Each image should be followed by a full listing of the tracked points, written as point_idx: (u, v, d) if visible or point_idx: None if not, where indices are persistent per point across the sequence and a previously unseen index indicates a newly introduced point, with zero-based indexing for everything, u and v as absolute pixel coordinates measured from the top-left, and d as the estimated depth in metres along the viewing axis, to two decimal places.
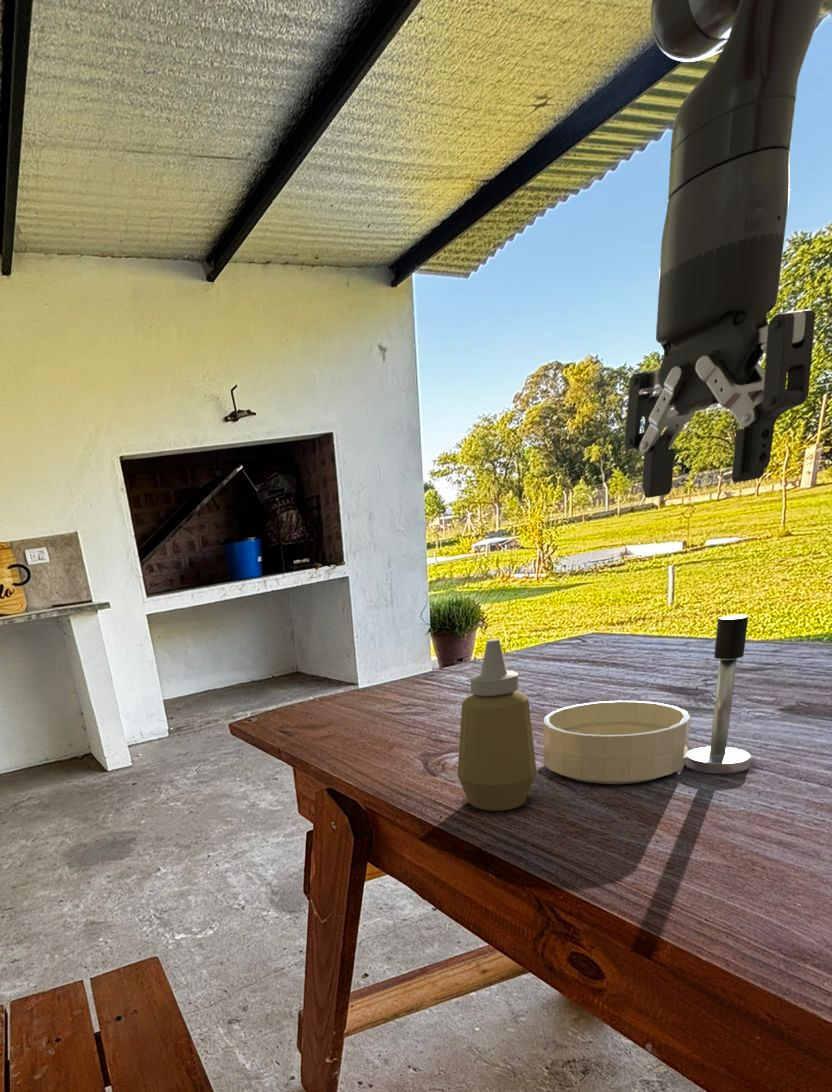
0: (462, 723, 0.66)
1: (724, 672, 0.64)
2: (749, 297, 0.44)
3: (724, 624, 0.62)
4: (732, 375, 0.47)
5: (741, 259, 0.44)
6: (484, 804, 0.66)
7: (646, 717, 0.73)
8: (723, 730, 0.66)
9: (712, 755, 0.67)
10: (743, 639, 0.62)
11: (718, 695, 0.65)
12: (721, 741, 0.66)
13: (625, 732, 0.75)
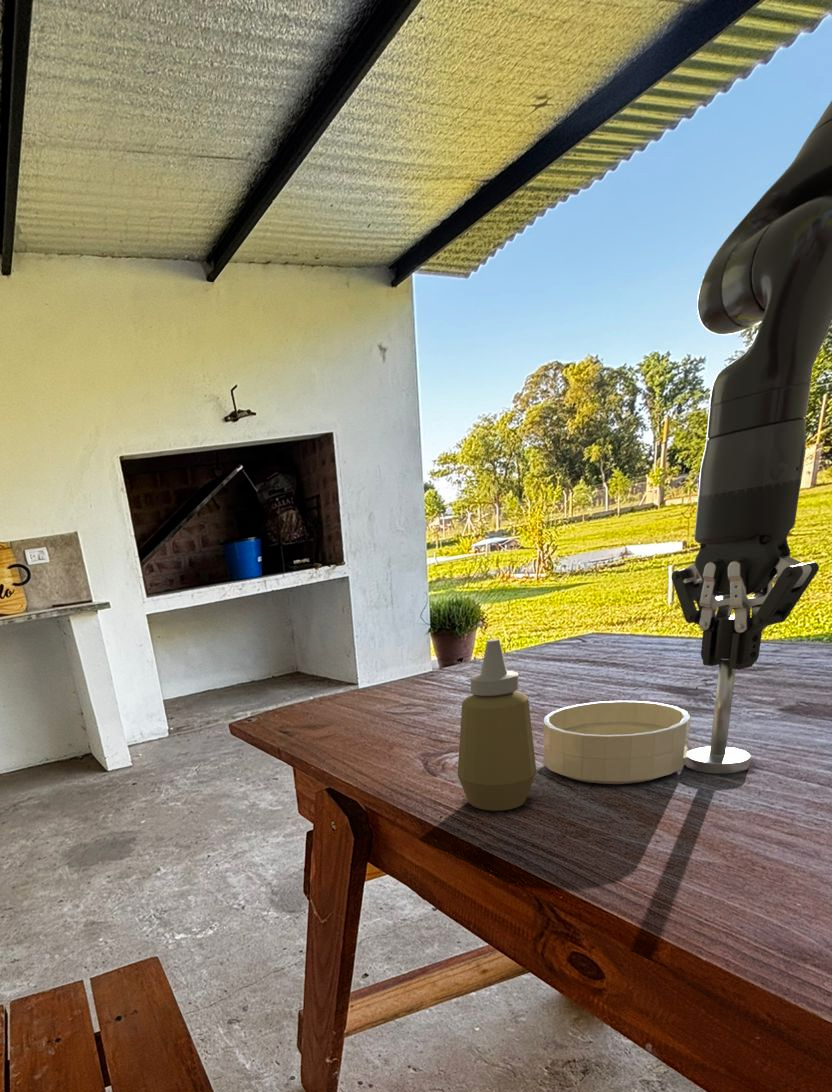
0: (462, 723, 0.66)
1: (724, 672, 0.64)
2: (773, 526, 0.56)
3: (724, 624, 0.62)
4: (758, 579, 0.58)
5: (767, 498, 0.55)
6: (484, 804, 0.66)
7: (646, 717, 0.73)
8: (723, 730, 0.66)
9: (712, 755, 0.67)
10: None
11: (718, 695, 0.65)
12: (721, 741, 0.66)
13: (625, 732, 0.75)
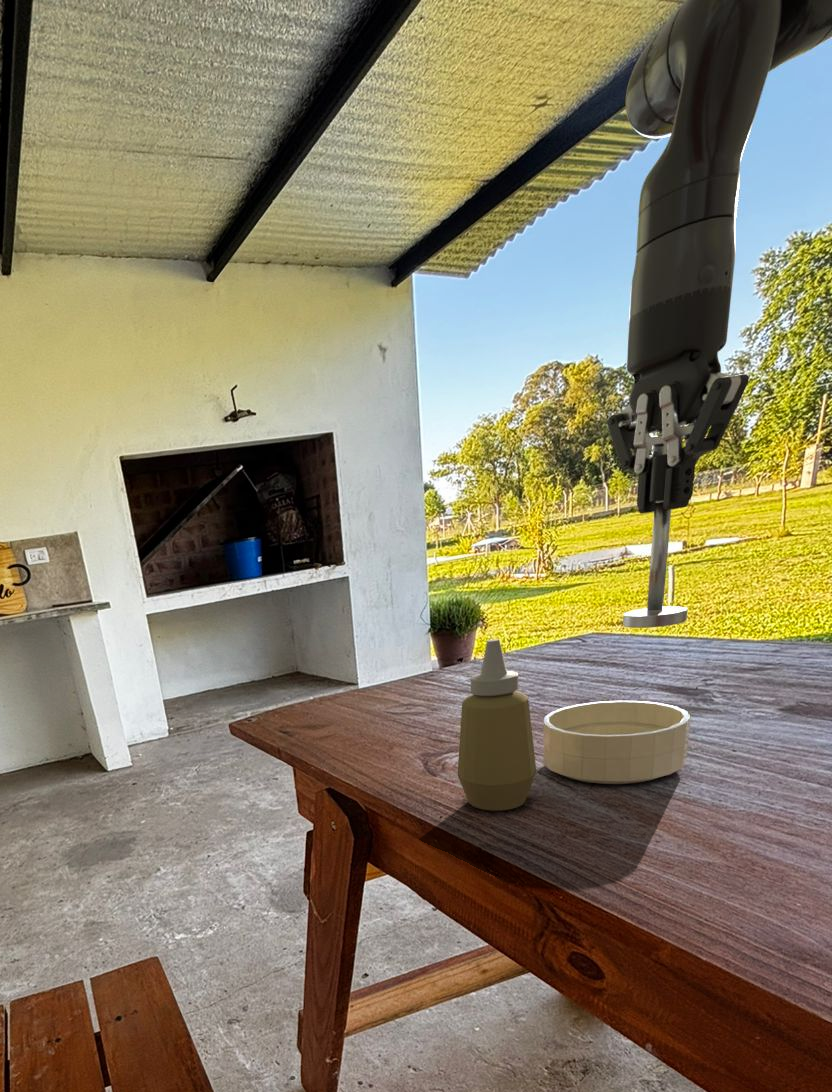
0: (462, 723, 0.66)
1: (659, 516, 0.61)
2: (702, 338, 0.53)
3: (657, 461, 0.59)
4: (689, 402, 0.55)
5: (695, 307, 0.52)
6: (484, 804, 0.66)
7: (646, 717, 0.73)
8: (659, 582, 0.63)
9: (649, 612, 0.64)
10: None
11: (654, 543, 0.62)
12: (658, 594, 0.63)
13: (625, 732, 0.75)
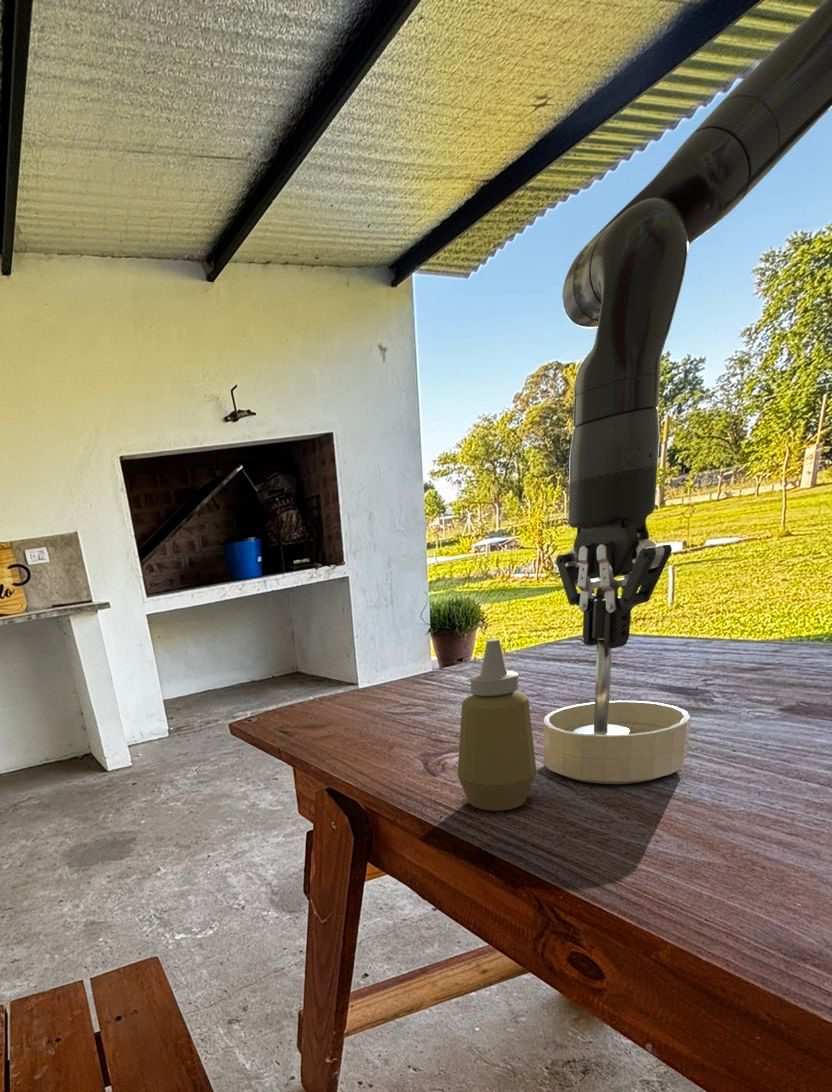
0: (462, 723, 0.66)
1: (601, 651, 0.67)
2: (631, 510, 0.59)
3: (597, 605, 0.65)
4: (622, 561, 0.61)
5: (623, 484, 0.58)
6: (484, 804, 0.66)
7: (646, 717, 0.73)
8: (603, 707, 0.69)
9: (596, 732, 0.70)
10: None
11: (597, 673, 0.68)
12: (602, 718, 0.69)
13: None
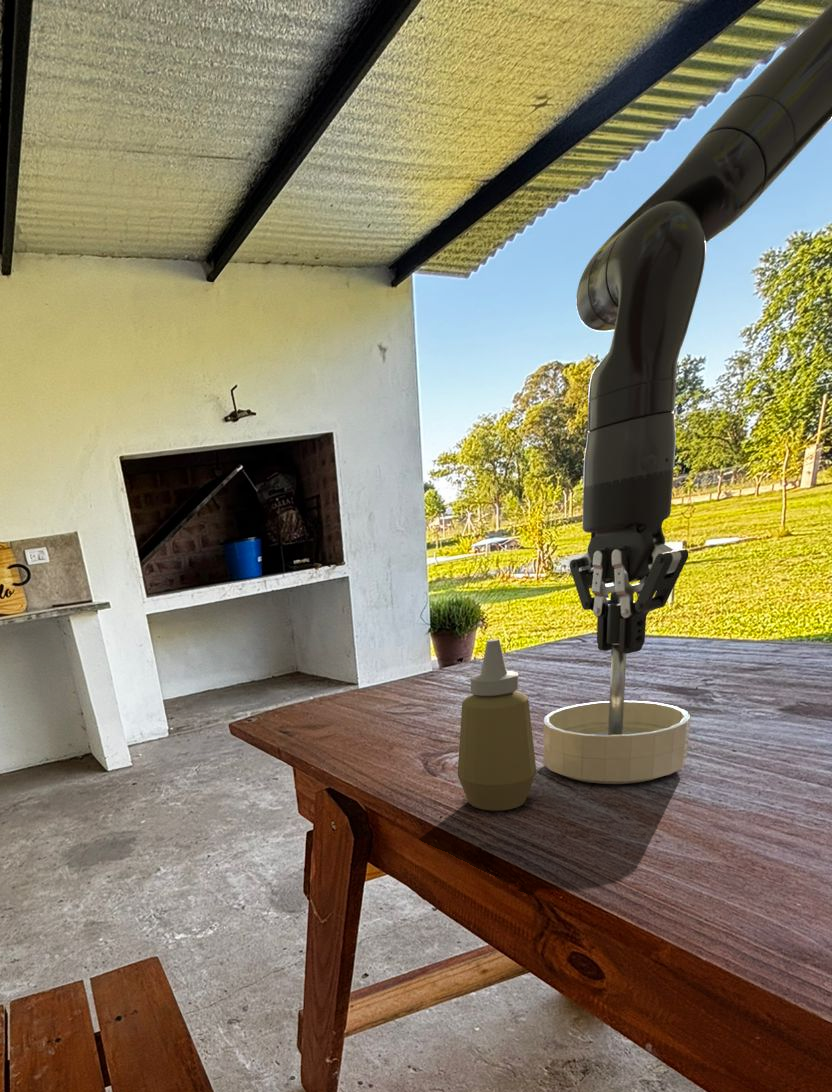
0: (462, 723, 0.66)
1: (615, 656, 0.66)
2: (647, 514, 0.58)
3: (612, 610, 0.65)
4: (638, 566, 0.61)
5: (639, 489, 0.58)
6: (484, 804, 0.66)
7: (646, 717, 0.73)
8: (618, 713, 0.68)
9: None
10: None
11: (612, 679, 0.68)
12: (617, 723, 0.69)
13: None
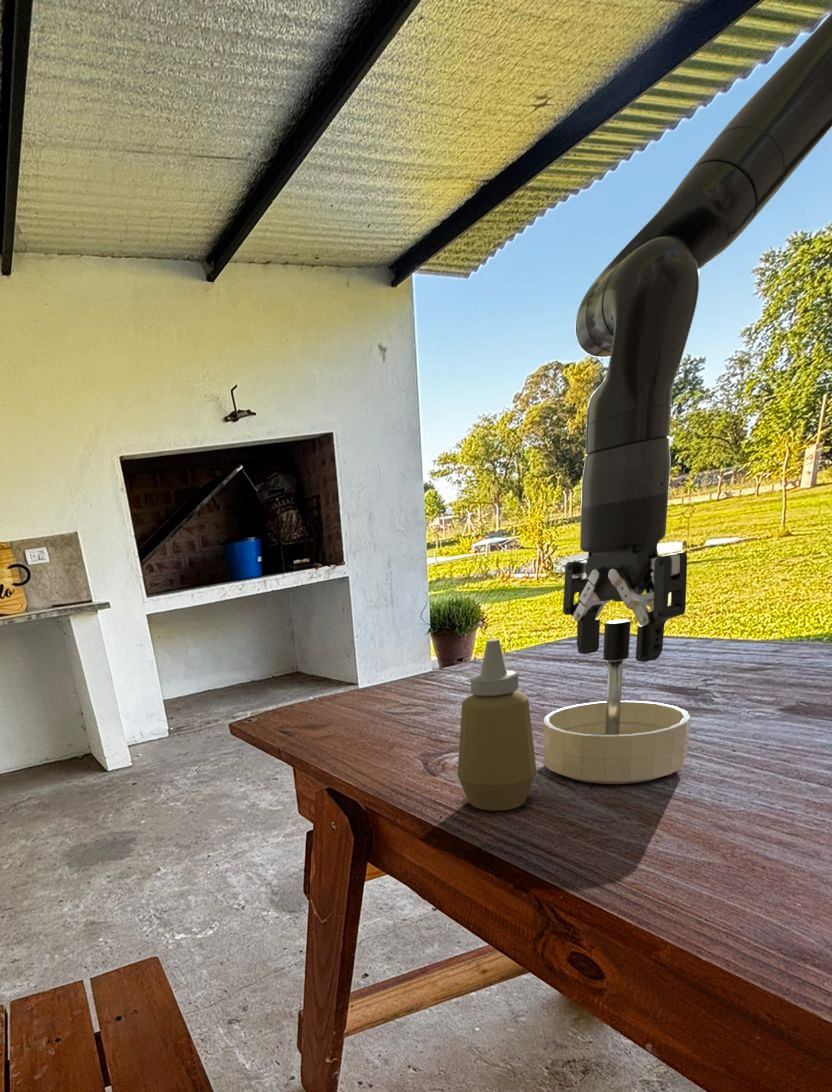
0: (462, 723, 0.66)
1: (612, 673, 0.68)
2: (642, 536, 0.60)
3: (609, 628, 0.66)
4: (633, 586, 0.62)
5: (635, 511, 0.59)
6: (484, 804, 0.66)
7: (646, 717, 0.73)
8: (614, 727, 0.70)
9: None
10: (626, 642, 0.66)
11: (608, 694, 0.69)
12: None
13: (625, 732, 0.75)
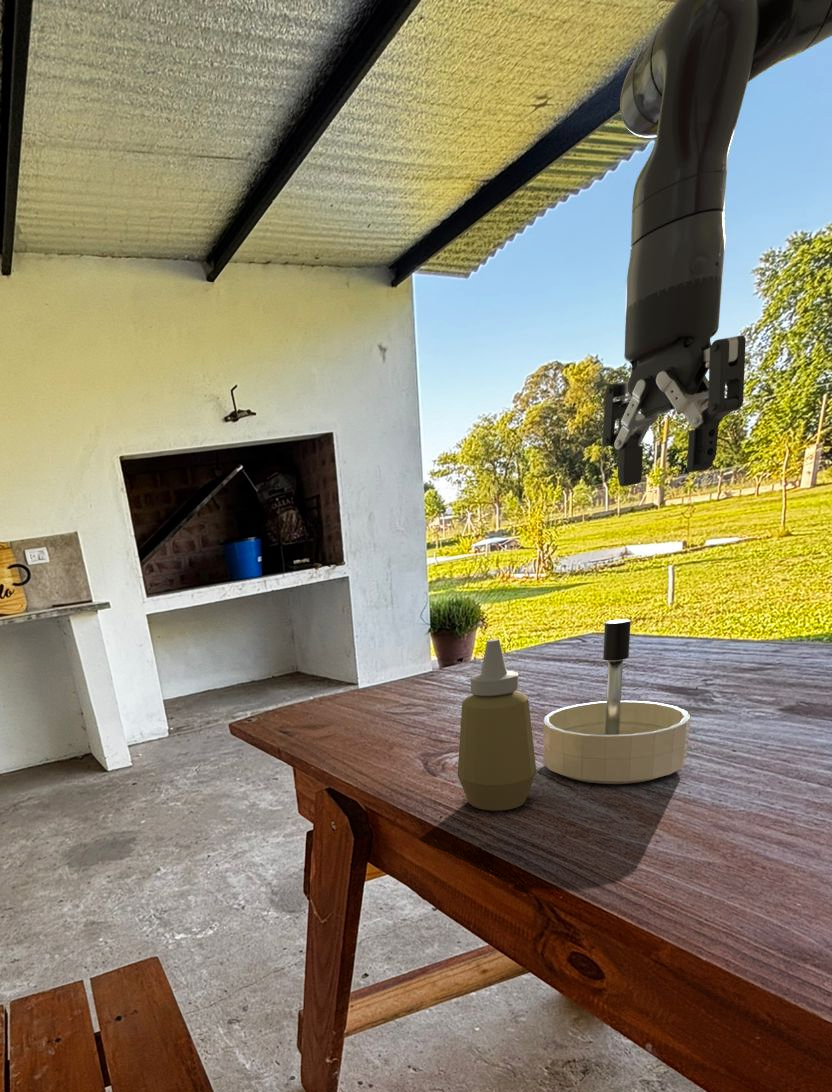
0: (462, 723, 0.66)
1: (612, 673, 0.68)
2: (695, 325, 0.56)
3: (609, 628, 0.66)
4: (684, 386, 0.58)
5: (688, 296, 0.55)
6: (484, 804, 0.66)
7: (646, 717, 0.73)
8: (614, 727, 0.70)
9: None
10: (626, 642, 0.66)
11: (608, 694, 0.69)
12: None
13: (625, 732, 0.75)
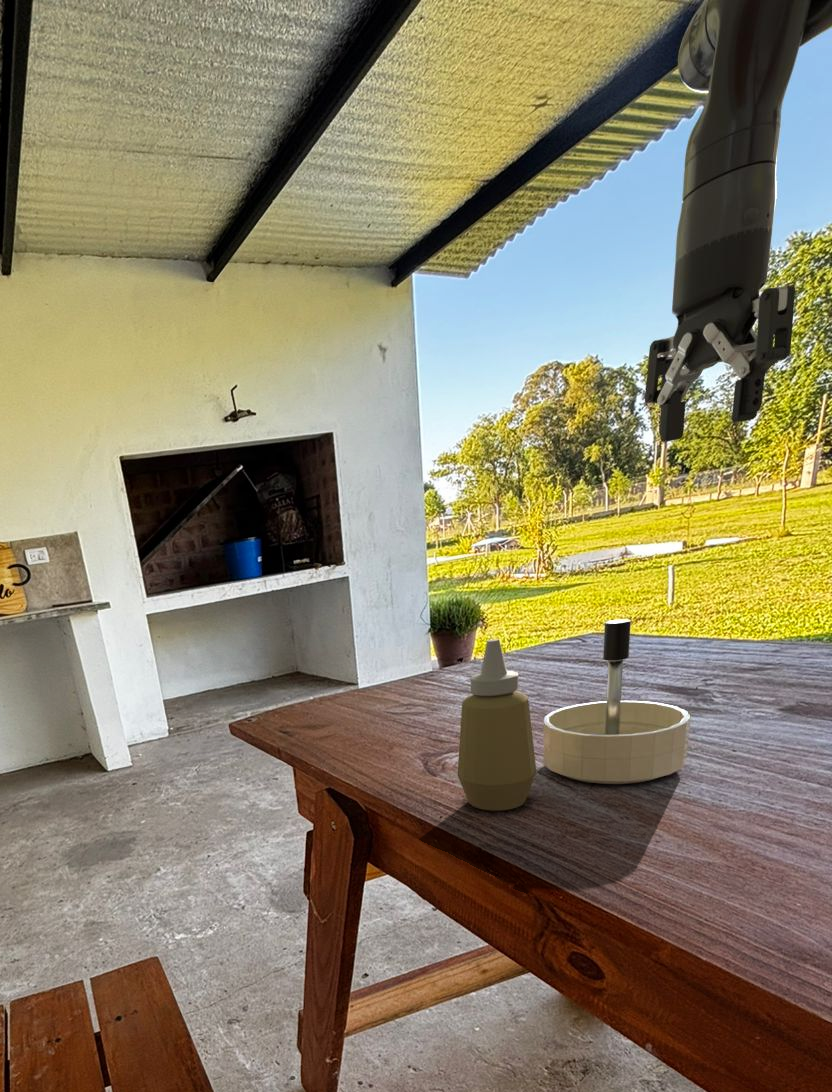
0: (462, 723, 0.66)
1: (612, 673, 0.68)
2: (745, 276, 0.58)
3: (609, 628, 0.66)
4: (732, 338, 0.60)
5: (739, 247, 0.57)
6: (484, 804, 0.66)
7: (646, 717, 0.73)
8: (614, 727, 0.70)
9: None
10: (626, 642, 0.66)
11: (608, 694, 0.69)
12: None
13: (625, 732, 0.75)
